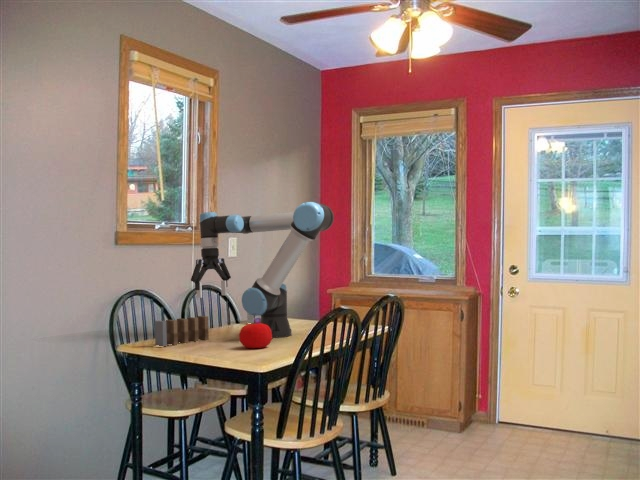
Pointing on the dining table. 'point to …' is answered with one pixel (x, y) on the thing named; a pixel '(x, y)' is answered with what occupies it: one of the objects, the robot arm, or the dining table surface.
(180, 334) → the domino
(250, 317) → the candy bar box
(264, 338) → the tomato
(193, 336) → the domino
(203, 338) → the domino
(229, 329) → the dining table surface
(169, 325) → the domino
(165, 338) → the domino
